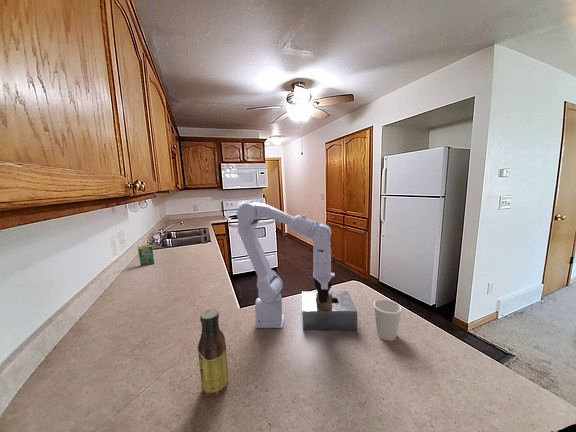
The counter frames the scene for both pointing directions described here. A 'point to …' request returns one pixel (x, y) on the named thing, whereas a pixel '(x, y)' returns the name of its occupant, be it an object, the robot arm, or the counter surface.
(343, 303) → the money box
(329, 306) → the brown block
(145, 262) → the coffee box
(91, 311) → the counter surface
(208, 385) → the sauce bottle
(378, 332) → the dixie cup
